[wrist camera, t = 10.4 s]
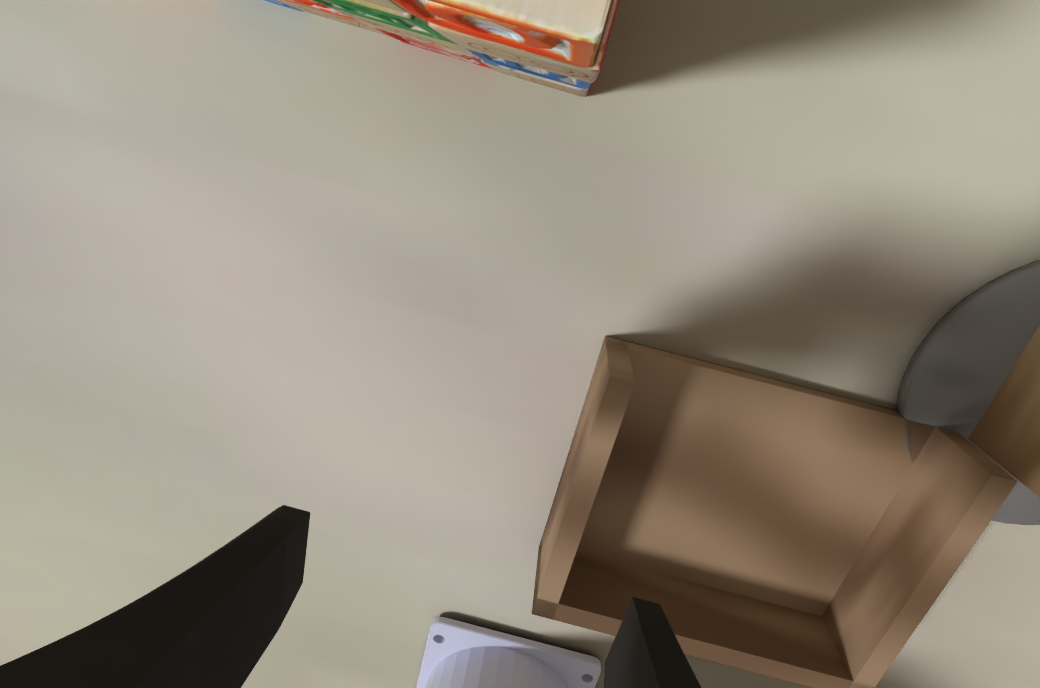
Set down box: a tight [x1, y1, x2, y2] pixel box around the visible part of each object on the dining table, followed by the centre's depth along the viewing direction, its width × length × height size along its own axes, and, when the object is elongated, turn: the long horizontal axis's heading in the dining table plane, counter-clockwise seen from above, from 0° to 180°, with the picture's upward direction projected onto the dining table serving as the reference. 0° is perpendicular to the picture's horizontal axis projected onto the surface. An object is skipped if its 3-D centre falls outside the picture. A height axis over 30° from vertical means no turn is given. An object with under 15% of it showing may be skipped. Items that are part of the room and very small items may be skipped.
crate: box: [532, 336, 1018, 688], centre depth 20 cm, size 10×13×4 cm
